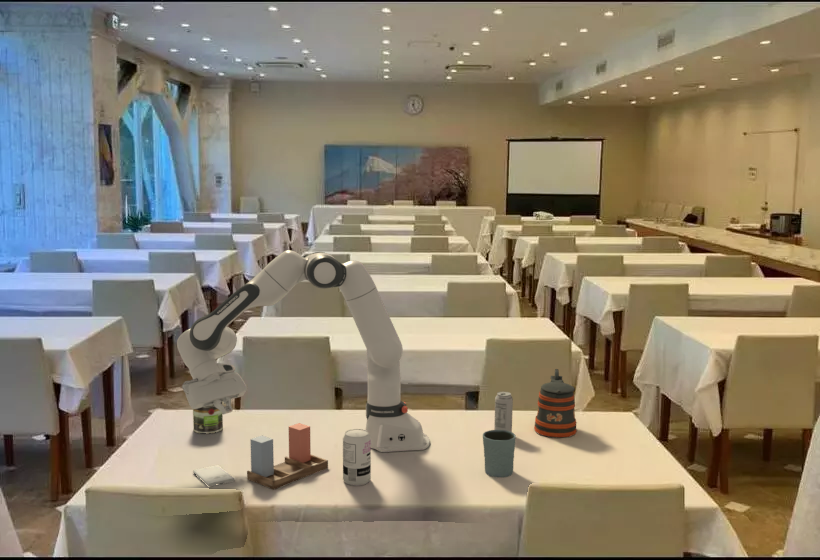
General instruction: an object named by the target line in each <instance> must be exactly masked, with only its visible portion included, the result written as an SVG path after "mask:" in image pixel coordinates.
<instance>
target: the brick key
mask: <svg viewBox="0 0 820 560" xmlns="http://www.w3.org/2000/svg"><path fill="white" fill-rule="evenodd" d="M311 455H312V454H311V426H310V425H308V424H303V423H300V422H299V423H298V422H297V423H295V424H292V425H289V426H288V458H291V459H294V460H296V461H299V462H302V463H304V462H307V461H310V460H311Z"/></svg>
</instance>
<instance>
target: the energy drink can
mask: <svg viewBox="0 0 820 560" xmlns="http://www.w3.org/2000/svg"><path fill="white" fill-rule="evenodd" d="M513 400H514V398H513V396H512V393H511V392H509V391H498V392H497V393H496V395H495V398H494V429H493V430H506V431H510V432H512V433H513V410H514V409H513V407H514V406H513V405H514V404H513V403H514V401H513Z"/></svg>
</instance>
